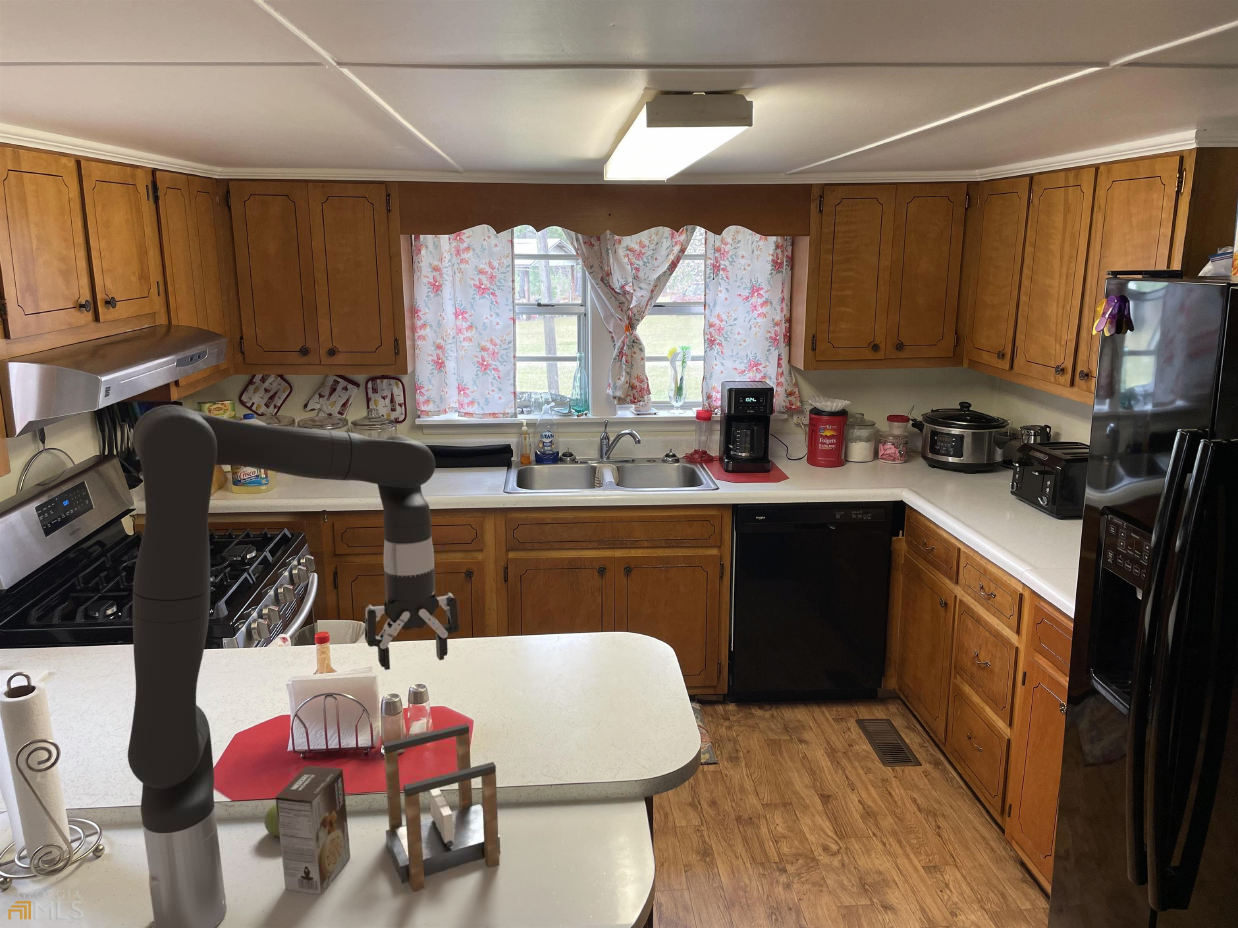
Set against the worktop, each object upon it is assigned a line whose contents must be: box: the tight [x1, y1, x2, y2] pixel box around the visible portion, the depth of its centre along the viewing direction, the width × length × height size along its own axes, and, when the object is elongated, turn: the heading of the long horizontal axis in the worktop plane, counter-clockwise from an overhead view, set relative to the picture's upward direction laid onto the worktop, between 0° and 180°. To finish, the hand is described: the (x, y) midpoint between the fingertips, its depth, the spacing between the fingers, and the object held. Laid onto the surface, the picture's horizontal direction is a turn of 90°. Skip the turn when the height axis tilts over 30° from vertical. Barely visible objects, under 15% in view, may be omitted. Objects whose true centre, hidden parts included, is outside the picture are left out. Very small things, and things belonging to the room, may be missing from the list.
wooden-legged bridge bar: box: [382, 722, 470, 753], centre depth 148 cm, size 14×1×1 cm, turn 117°
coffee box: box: [275, 765, 351, 895], centre depth 139 cm, size 9×6×16 cm
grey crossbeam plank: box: [403, 761, 497, 796], centre depth 136 cm, size 14×1×1 cm, turn 117°
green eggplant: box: [263, 803, 280, 838], centre depth 149 cm, size 6×5×10 cm
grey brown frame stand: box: [383, 732, 500, 893], centre depth 144 cm, size 14×15×16 cm
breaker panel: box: [385, 803, 501, 884], centre depth 146 cm, size 16×10×3 cm, turn 117°
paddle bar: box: [429, 788, 454, 848], centre depth 145 cm, size 1×9×6 cm, turn 27°
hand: (413, 662), depth 142 cm, fingers open, 8 cm apart
